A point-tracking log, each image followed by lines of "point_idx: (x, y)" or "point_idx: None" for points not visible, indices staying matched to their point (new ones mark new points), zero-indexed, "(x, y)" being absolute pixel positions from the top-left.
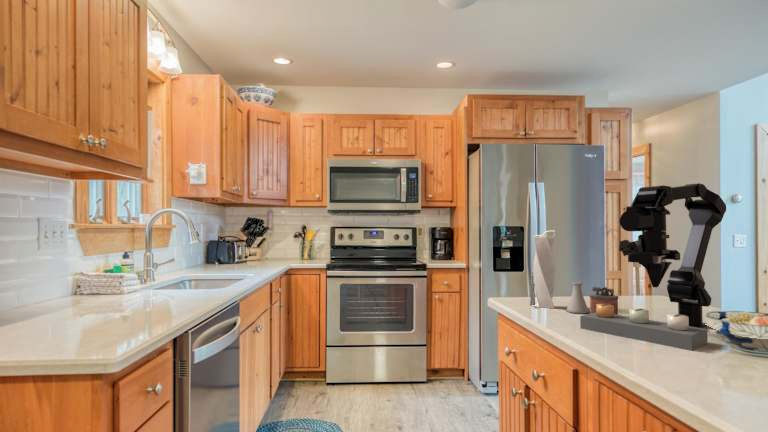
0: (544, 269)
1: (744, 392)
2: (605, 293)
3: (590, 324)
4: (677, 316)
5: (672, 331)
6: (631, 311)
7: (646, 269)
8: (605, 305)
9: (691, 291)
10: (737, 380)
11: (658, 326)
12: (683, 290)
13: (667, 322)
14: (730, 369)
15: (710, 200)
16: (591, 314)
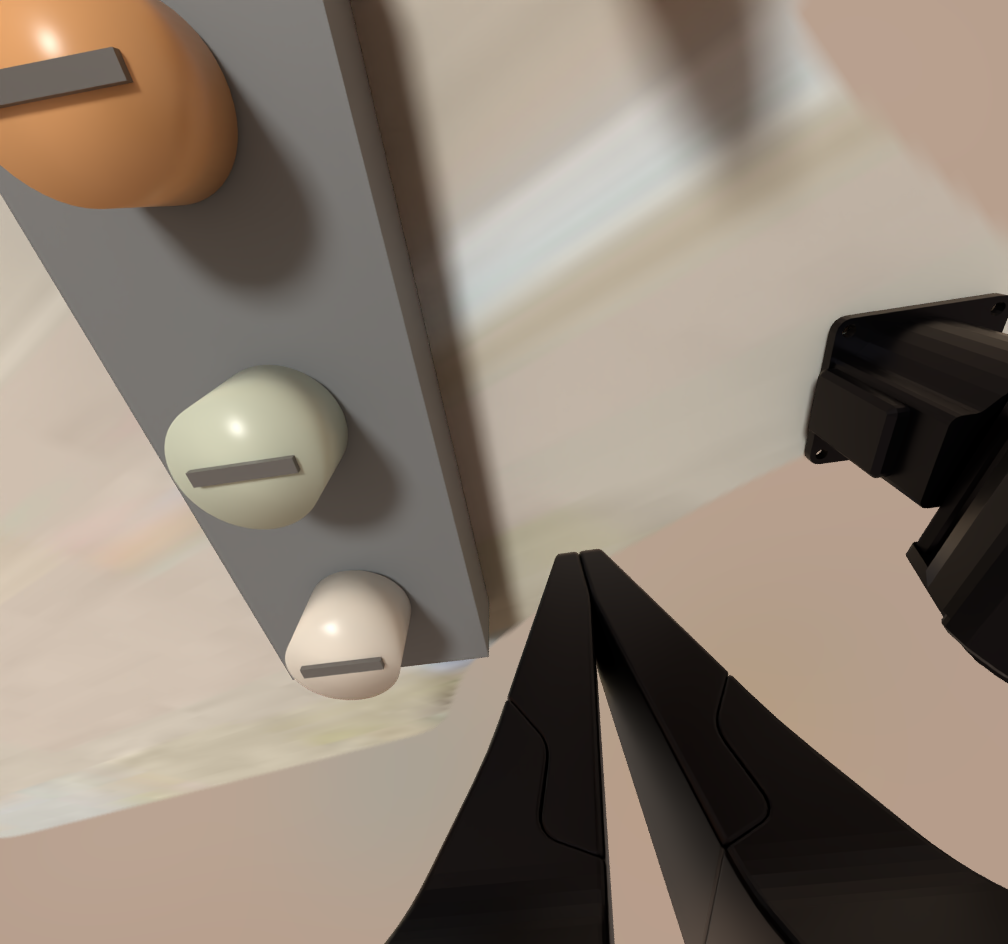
0: None
1: (114, 792)
2: None
3: None
4: (323, 673)
5: (273, 622)
6: (170, 444)
7: (435, 867)
8: (42, 109)
9: (951, 632)
10: (174, 766)
11: (301, 543)
12: (996, 572)
13: (311, 601)
14: (243, 735)
15: None
16: None
